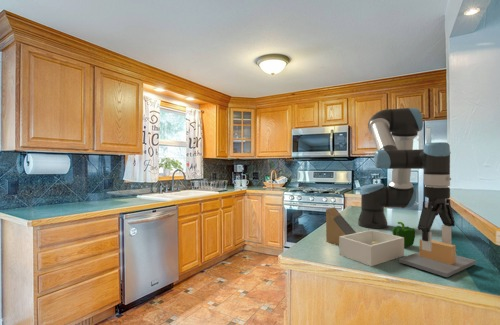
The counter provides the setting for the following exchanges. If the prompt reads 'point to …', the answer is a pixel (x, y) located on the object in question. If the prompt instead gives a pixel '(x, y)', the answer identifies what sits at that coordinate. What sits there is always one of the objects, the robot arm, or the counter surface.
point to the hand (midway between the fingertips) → (437, 246)
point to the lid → (438, 259)
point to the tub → (371, 247)
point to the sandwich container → (336, 226)
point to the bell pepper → (405, 234)
